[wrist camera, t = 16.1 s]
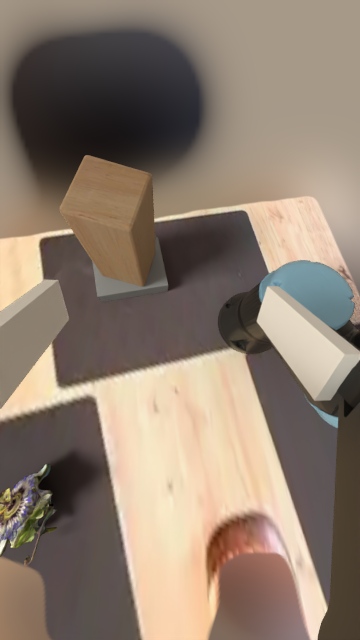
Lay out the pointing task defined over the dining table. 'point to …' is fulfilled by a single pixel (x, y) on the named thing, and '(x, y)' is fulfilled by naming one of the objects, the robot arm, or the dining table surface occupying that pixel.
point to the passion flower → (24, 511)
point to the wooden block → (113, 218)
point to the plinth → (121, 290)
